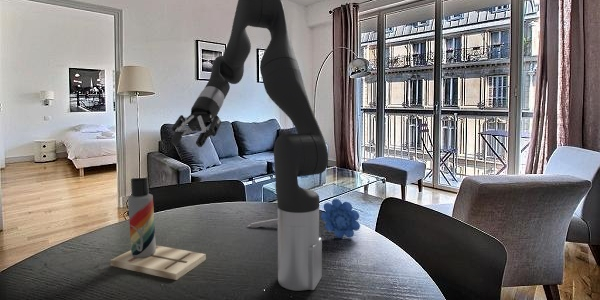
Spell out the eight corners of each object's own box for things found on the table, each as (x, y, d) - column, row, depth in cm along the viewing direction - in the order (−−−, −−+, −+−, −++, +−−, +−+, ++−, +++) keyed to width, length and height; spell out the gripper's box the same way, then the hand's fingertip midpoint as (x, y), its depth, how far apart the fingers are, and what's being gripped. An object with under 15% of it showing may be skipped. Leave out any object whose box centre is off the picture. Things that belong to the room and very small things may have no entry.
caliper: (309, 227, 111) (309, 208, 110) (309, 228, 110) (309, 209, 109) (247, 227, 111) (247, 208, 111) (246, 228, 110) (246, 209, 110)
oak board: (205, 259, 87) (205, 253, 87) (176, 280, 77) (176, 273, 77) (145, 248, 94) (144, 242, 94) (110, 265, 84) (110, 259, 84)
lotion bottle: (129, 259, 84) (124, 180, 81) (134, 250, 89) (129, 175, 86) (154, 256, 85) (149, 178, 83) (157, 247, 91) (153, 174, 88)
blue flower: (319, 242, 98) (320, 202, 97) (321, 233, 105) (321, 196, 103) (360, 244, 97) (361, 203, 95) (359, 235, 103) (360, 197, 102)
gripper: (183, 95, 105) (158, 135, 96) (223, 95, 100) (200, 136, 91) (195, 112, 111) (172, 152, 101) (233, 112, 106) (212, 154, 96)
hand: (185, 144), depth 96 cm, fingers open, 8 cm apart
